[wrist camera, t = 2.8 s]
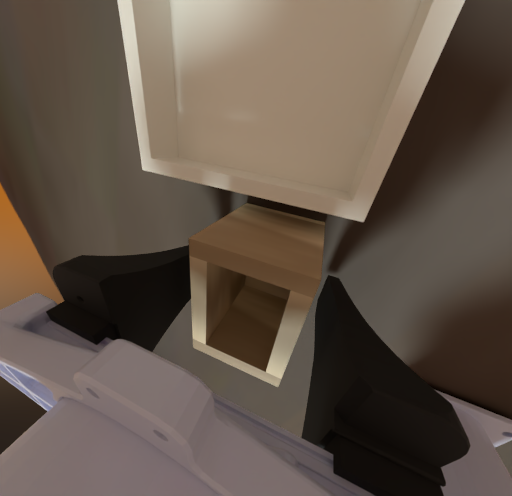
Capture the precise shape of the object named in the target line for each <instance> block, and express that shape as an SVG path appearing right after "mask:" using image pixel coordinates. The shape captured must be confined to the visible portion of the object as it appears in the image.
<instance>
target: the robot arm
mask: <svg viewBox="0 0 512 496" xmlns="http://www.w3.org/2000/svg"><path fill="white" fill-rule="evenodd" d="M53 277H54V280H55V282H56V284H57V286H58V288H59V290H60V292H61V294H62V296H63V298H64V300H65V301H64V302H62V303H60V304H58V305H57V303H55V301H53V300H52V299H50V298H48V297H46V296H43V295H42V294H39V293H35V294H33V295H31V296H29V297H27V298H25V299H22V300H21V301H18V302H16V303H14V304H12V305H10V306H8V307H6V308H4V309H2V310H0V376H1V377H3V378H4V379H6V380H7V381H8V382H10V383H11V384H12V385H14V386H15V387H16V388H18V389H19V390H20V391H22V392H23V393H24V394H26V395H27V396H28V397H30V398H31V399H32V400H33V401H35V402H36V403H37V404H39V405H40V406H41V407H43V408H44V409H45V410H47V411H48V412H47V413H46V414H45V415H43V417H41V418H40V419H39V420H38V421H37V422H36V423H35V424H34V425H33V426H31V427H30V428H29V429H28V430H27V431H26V432H25V433H24V434H23V435H22V436H21V437H19V438H18V439H17V440H16V441H15V442H14V443H13V444H12V445H11V446H10V447H8V448H7V449H6V450H5V451H4V452H3V453H2V454H1V455H0V496H512V478H511V476H510V474H509V472H508V471H507V469H506V467H505V465H504V463H503V462H502V460H501V458H500V456H499V454H498V453H497V451H496V449H495V447H497V446H499V445H502V444H504V443H506V442H509V441H511V440H512V420H510V419H508V418H505V417H503V416H500V415H498V414H495V413H493V412H490V411H488V410H485V409H483V408H480V407H478V406H475V405H472V404H470V403H467V402H465V401H462V400H460V399H457V398H455V397H452V396H450V395H447V394H445V393H442V392H440V391H437V390H435V389H433V388H432V387H431V386H430V385H428V384H427V383H426V382H425V381H424V380H422V379H421V378H420V377H419V376H418V375H417V374H416V373H415V372H413V371H412V370H411V369H410V368H409V367H408V366H407V365H406V364H405V363H404V362H403V361H402V360H401V359H400V358H399V357H397V356H396V355H395V354H394V353H393V351H392V350H391V349H390V348H389V347H388V346H387V345H386V344H385V343H384V342H383V341H382V340H381V339H380V338H379V337H378V335H377V334H376V333H375V332H374V331H373V329H372V328H371V327H370V326H369V325H368V323H367V322H366V321H365V319H364V318H363V317H362V315H361V314H360V312H359V311H358V309H357V308H356V306H355V305H354V303H353V302H352V300H351V299H350V297H349V295H348V294H347V292H346V290H345V288H344V286H343V285H342V283H341V281H340V279H339V278H336V277H333V276H329V275H328V277H327V279H326V282H325V284H324V287H323V289H322V291H321V294H320V296H319V298H318V302H317V308H316V314H315V347H314V361H313V368H312V376H311V383H310V390H309V396H308V403H307V409H306V415H305V421H304V427H303V433H302V438H300V437H299V436H297V435H295V434H293V433H291V432H289V431H287V430H285V429H283V428H281V427H279V426H277V425H275V424H273V423H272V422H270V421H268V420H266V419H264V418H262V417H260V416H258V415H256V414H254V413H252V412H250V411H248V410H246V409H244V408H243V407H241V406H239V405H237V404H235V403H233V402H231V401H229V400H227V399H225V398H223V397H221V396H219V395H217V394H216V393H214V392H212V391H211V390H210V389H209V388H208V387H207V386H206V384H205V383H204V382H203V381H202V380H201V379H200V378H198V377H197V376H195V375H194V374H192V373H191V372H189V371H187V370H186V369H184V368H182V367H180V366H178V365H176V364H174V363H172V362H170V361H168V360H166V359H164V358H162V357H160V356H158V355H156V354H154V353H152V351H153V350H154V348H155V347H156V345H157V344H158V342H159V341H160V339H161V338H162V336H163V335H164V333H165V332H166V330H167V329H168V327H169V326H170V325H171V323H172V322H173V320H174V319H175V318H176V316H177V315H178V314H179V312H180V311H181V310H182V309H183V307H184V306H185V305H186V303H187V302H188V301H189V300H190V299H191V280H190V256H189V245H188V246H184V247H180V248H176V249H172V250H167V251H162V252H156V253H149V254H139V255H127V256H86V255H82V256H78V257H76V258H73V259H71V260H69V261H66V262H64V263H61V264H59V265H57V266H55V267H54V269H53Z"/></svg>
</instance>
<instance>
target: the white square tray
mask: <svg viewBox="0 0 512 496" xmlns="http://www.w3.org/2000/svg"><path fill="white" fill-rule="evenodd" d="M464 2H465V0H118V7H119V14H120V21H121V27H122V34H123V41H124V48H125V54H126V61H127V68H128V74H129V81H130V88H131V95H132V101H133V108H134V115H135V122H136V128H137V135H138V142H139V149H140V155H141V162H142V169H143V170H145V171H149V172H153V173H157V174H162V175H166V176H170V177H174V178H179V179H183V180H187V181H191V182H195V183H200V184H204V185H208V186H212V187H216V188H221V189H225V190H229V191H233V192H238V193H242V194H246V195H250V196H254V197H259V198H263V199H267V200H271V201H276V202H280V203H284V204H288V205H292V206H297V207H301V208H305V209H309V210H313V211H318V212H322V213H326V214H330V215H335V216H339V217H343V218H347V219H351V220H356V221H360V222H364V220H365V218H366V216H367V214H368V212H369V209H370V207H371V205H372V203H373V201H374V198H375V196H376V194H377V192H378V190H379V188H380V185H381V183H382V181H383V179H384V177H385V174H386V172H387V170H388V168H389V166H390V164H391V161H392V159H393V157H394V155H395V153H396V150H397V148H398V146H399V144H400V142H401V140H402V137H403V135H404V133H405V131H406V129H407V126H408V124H409V122H410V120H411V118H412V115H413V113H414V111H415V109H416V107H417V105H418V102H419V100H420V98H421V96H422V94H423V91H424V89H425V87H426V85H427V83H428V81H429V78H430V76H431V74H432V72H433V70H434V67H435V65H436V63H437V61H438V59H439V56H440V54H441V52H442V50H443V48H444V46H445V43H446V41H447V39H448V37H449V35H450V32H451V30H452V28H453V26H454V24H455V22H456V19H457V17H458V15H459V13H460V11H461V8H462V6H463V4H464Z"/></svg>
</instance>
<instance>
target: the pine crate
mask: <svg viewBox="0 0 512 496" xmlns="http://www.w3.org/2000/svg"><path fill="white" fill-rule="evenodd" d="M324 233H325V222H321V221H317V220H313V219H309V218H305V217H301V216H297V215H293V214H289V213H285V212H281V211H277V210H273V209H269V208H265V207H261V206H257V205H253V204H249V203H246V204H244V205H243V206H241V207H239V208H238V209H236V210H234V211H233V212H231V213H230V214H228V215H226V216H225V217H223V218H221V219H220V220H218V221H216V222H215V223H213V224H211V225H210V226H208V227H206V228H205V229H203V230H202V231H200V232H198V233H197V234H195V235H193V236H192V237H190V238H189V256H190V280H191V305H192V329H193V348H195V349H197V350H200V351H202V352H204V353H206V354H208V355H210V356H212V357H215V358H217V359H219V360H221V361H223V362H225V363H227V364H229V365H232V366H234V367H236V368H238V369H240V370H242V371H244V372H246V373H249V374H251V375H253V376H255V377H257V378H259V379H261V380H264V381H266V382H268V383H270V384H272V385H274V386H276V387H278V386H279V383H280V381H281V378H282V376H283V373H284V371H285V368H286V366H287V364H288V361H289V359H290V356H291V354H292V351H293V349H294V346H295V344H296V341H297V339H298V336H299V334H300V331H301V329H302V326H303V324H304V321H305V319H306V316H307V314H308V311H309V309H310V306H311V304H312V301H313V299H314V297H315V294H316V292H317V289H318V287H319V284H320V282H321V274H322V260H323V247H324Z"/></svg>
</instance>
